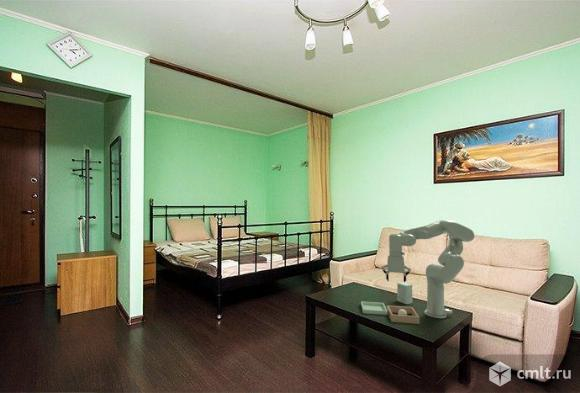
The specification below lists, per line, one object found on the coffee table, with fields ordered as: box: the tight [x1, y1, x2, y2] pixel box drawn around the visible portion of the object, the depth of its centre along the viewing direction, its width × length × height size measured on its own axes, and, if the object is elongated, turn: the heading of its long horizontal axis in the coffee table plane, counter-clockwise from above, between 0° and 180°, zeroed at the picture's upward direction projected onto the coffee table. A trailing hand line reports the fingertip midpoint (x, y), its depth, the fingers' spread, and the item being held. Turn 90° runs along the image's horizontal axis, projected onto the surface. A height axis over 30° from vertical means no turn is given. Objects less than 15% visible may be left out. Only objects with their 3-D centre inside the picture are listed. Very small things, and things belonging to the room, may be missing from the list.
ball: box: [397, 309, 408, 316], centre depth 171 cm, size 5×5×5 cm
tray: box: [360, 300, 389, 316], centre depth 183 cm, size 15×15×2 cm
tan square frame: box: [386, 305, 420, 325], centre depth 171 cm, size 16×16×4 cm
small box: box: [396, 281, 413, 305], centre depth 198 cm, size 8×6×13 cm
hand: (396, 281), depth 174 cm, fingers open, 9 cm apart
